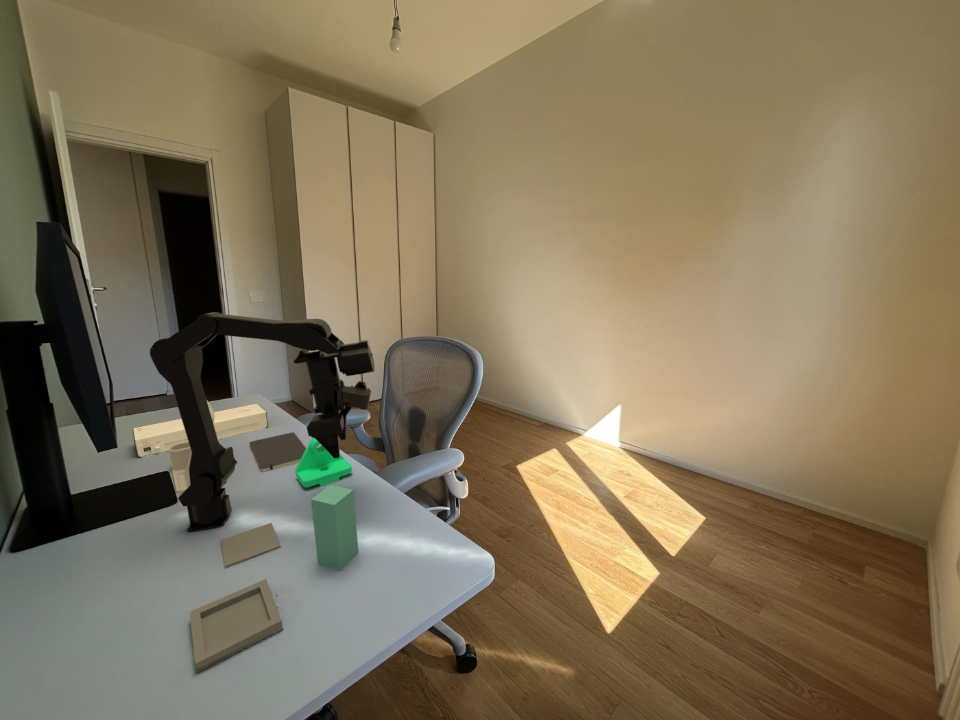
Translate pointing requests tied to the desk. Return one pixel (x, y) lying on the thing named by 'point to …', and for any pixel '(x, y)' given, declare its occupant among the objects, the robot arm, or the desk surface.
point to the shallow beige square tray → (233, 624)
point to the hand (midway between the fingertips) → (340, 448)
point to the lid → (249, 544)
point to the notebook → (277, 451)
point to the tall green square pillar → (335, 527)
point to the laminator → (174, 432)
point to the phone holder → (183, 462)
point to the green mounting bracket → (320, 466)
